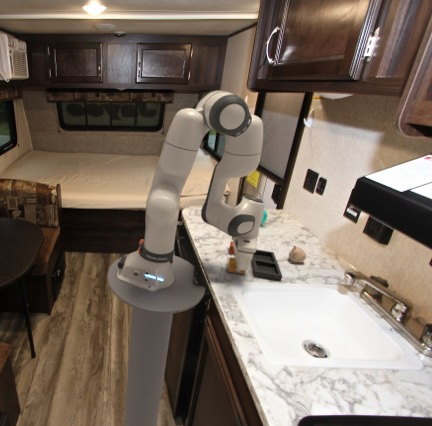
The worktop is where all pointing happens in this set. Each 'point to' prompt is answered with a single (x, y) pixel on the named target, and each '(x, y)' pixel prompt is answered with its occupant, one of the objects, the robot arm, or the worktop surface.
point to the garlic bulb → (297, 254)
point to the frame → (265, 265)
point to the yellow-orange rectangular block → (233, 266)
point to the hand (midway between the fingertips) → (236, 266)
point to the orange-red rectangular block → (231, 248)
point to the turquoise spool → (264, 217)
